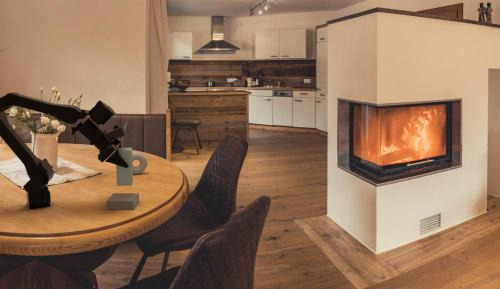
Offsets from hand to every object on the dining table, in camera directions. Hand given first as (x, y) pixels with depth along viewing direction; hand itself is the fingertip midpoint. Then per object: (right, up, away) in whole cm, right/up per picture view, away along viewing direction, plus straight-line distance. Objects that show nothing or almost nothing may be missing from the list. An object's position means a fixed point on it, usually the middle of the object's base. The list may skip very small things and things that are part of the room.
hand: (128, 165), depth 144 cm
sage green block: (-2, -7, +1) cm, 7 cm away
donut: (-9, -6, +41) cm, 43 cm away
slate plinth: (-1, -14, -1) cm, 14 cm away
